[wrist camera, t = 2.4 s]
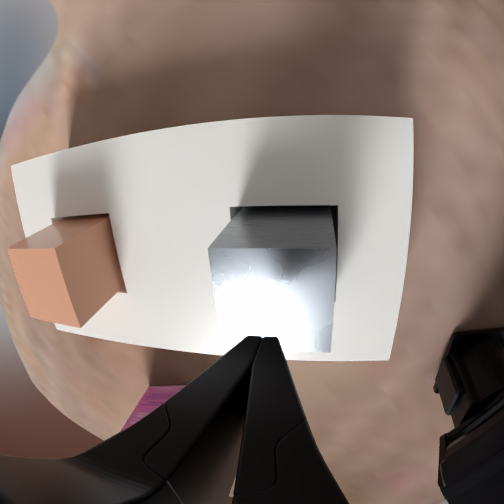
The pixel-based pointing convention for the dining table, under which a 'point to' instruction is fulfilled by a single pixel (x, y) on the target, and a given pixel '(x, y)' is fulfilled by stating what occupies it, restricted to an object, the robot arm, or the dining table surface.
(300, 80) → the dining table surface
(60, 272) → the peach square block
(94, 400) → the dining table surface
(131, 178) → the white rectangular block
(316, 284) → the metallic grey block
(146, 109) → the dining table surface
